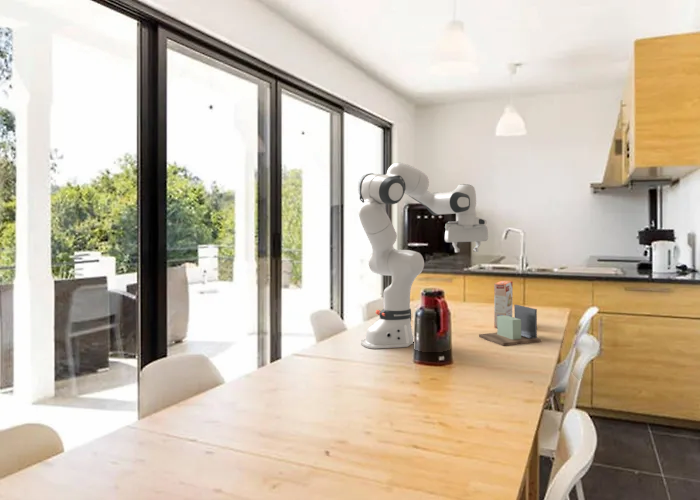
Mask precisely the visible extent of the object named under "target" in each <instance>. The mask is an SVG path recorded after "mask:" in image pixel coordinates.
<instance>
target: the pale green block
mask: <svg viewBox="0 0 700 500" xmlns="http://www.w3.org/2000/svg"><path fill="white" fill-rule="evenodd" d="M496 330H497V332H496V333H497V334H498V335H501V336H504V337H506V338H509V339H512V340H514V339H521V319H517V318H515V316H512V317H510V316H506V315H503V316H497V328H496Z"/></svg>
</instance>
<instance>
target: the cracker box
mask: <svg viewBox="0 0 700 500" xmlns="http://www.w3.org/2000/svg"><path fill="white" fill-rule="evenodd" d="M513 283H514V282H513V280H500V281H497V282H495V283H494V286H493V287H494V291H493V292H494V299H493V303H494V304H493V305H494V307H493V308H494V310H493V311H494V313H493V315H494V316H493V317H494V321H493V322H494V323H493V324H494V328H496V329H497V316H503V315H506V316H510V317H513V285H514V284H513Z"/></svg>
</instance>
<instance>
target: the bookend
mask: <svg viewBox="0 0 700 500" xmlns="http://www.w3.org/2000/svg"><path fill="white" fill-rule="evenodd" d="M513 305H514V310H513V311H514V318H517V319H521V337H525V338H528V339H533V338H538V328H537V327H538V325H537V323H538V321H537V320H538V316H537V315H538V312H537V311H538V309H537V308H532V307H529V306H528V307H527V306H524V305H519V304H513Z"/></svg>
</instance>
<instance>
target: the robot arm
mask: <svg viewBox="0 0 700 500" xmlns="http://www.w3.org/2000/svg"><path fill="white" fill-rule="evenodd" d="M429 186H430V181H429V177H428V176H427V174H426V173H424V172H423V171H422V170H420V169H419V168H416V167H414V166H412V165H410V164H407V163H403V162H394V163H392V164H391V165H390V166H389V167H388V168H387V171H386V174H380V173H372V172H371V173H366V174H364V175H362V176H361V177H360V178H359V181H358V184H357V191H358V194H359V200H360V202H362V204H361V205H360V206H359V208H358V215H359V216H358V217H359V220H360V223H361V225H362V228H363V230H364V233H365V234H366V236H367V238H368V240H369V243H370V245H371V248H372V253H371V254H370V256H369V258H368V265H369V267H368V268H369V269H370V271H371V272H372V273H375V274H377V275H380V276H387V277H388V276H389V277H390V276H391V277H392V281H391V284H389V285H388V286H386V287H385V288H384V290H383V295H382V296H383V298H382V299H383V302H382V303H383V309H382V310H379V309H376V310H375V314H376V315H377V316H379V318H378V319H377V320H376V321H375V322H374V323H372V324H371V325H370V326H369V327H368V328H367V329H366V334H365V339H361V340H360V344H361V346H363V347H364V348H368V349H375V350H376V349H391V348H392V349H393V348H408V347H409V346H411V345H413V344H414V343H413V338H414V335H413V329H412V309H411V290H412V285H413V283H414V281H415V280H416V279H417V277H418V276H419V275H420V274H421V273H423V270H424V267H425V260H424V257H423V255H422V254H421V252H418V251H415V250H412V249H411V250H410V249H396V248H394V246H393V245H394V244H395V243H396V241H397V239H398V238H397V237H398V234H397V231H396V230H395V228H394V225H393V223H392V220H391V218H390V217H389V215H388V213H387V210H386V209H387V208H386V205H395V204H398V203H399V202H401V200H402V199H403V197H404V195H407V196H408V197H410V198H411V199H413V200H414V201H416V202H417V203H419V204H420V205H422V206H424V207H425V208H426V209H427V211H428V212H429V213H430V214H431V215H434V216H440V215H452V214H453V215H454V214H455V221H454V220H453V221H451V220H450V221H448V222H446V223H445V226H444V228H445V232H444V242H445V243H452V247H453V248H454V253H456V254H457V253H460V250H461V249H460V248H459V247H458V243H467V242H468V243H473V242H474V243H475V247H473V252H475V253H477V252H479V247H480V246H481V244H482V242H488V239H489V231H488V226H487V223H488V221H487V220H486V219H484V218H481V217H478V216H477V211H476V207H477V194H476V189H475V186H473V185H472V184H465V183H462V184H458V185H457V186H456V188H454V189H453V190H450V191H446V192H445V191H444V192H430V191H428V190H429Z"/></svg>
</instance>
